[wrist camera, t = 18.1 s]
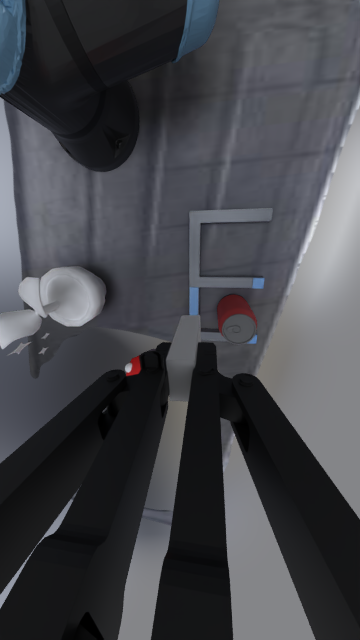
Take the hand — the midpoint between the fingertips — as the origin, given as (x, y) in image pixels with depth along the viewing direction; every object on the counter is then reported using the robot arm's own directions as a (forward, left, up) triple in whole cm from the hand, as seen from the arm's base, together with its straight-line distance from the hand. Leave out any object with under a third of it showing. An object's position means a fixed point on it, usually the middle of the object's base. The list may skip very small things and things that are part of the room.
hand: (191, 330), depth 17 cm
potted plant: (+2, -25, -29) cm, 38 cm away
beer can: (+7, +6, -29) cm, 30 cm away
